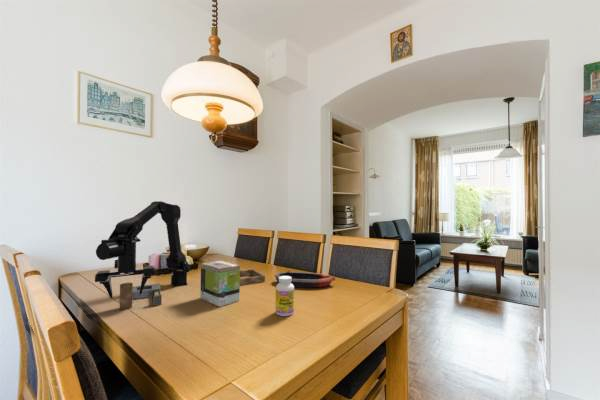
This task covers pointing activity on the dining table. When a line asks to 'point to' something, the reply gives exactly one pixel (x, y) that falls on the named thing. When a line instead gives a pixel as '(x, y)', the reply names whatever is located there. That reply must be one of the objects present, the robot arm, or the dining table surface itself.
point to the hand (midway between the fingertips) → (126, 296)
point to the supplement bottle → (285, 296)
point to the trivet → (250, 280)
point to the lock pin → (157, 298)
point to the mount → (145, 291)
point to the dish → (307, 279)
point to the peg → (126, 296)
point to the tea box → (220, 282)
